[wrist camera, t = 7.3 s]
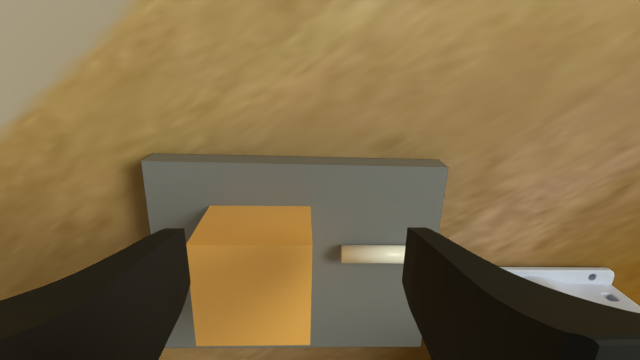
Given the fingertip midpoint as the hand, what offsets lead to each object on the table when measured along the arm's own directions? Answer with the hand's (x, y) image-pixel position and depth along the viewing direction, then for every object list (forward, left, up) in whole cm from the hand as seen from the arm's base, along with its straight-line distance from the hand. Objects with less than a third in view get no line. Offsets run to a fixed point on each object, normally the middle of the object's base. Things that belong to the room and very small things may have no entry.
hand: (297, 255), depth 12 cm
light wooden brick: (+2, +4, -8) cm, 9 cm away
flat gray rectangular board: (0, +5, -9) cm, 11 cm away
